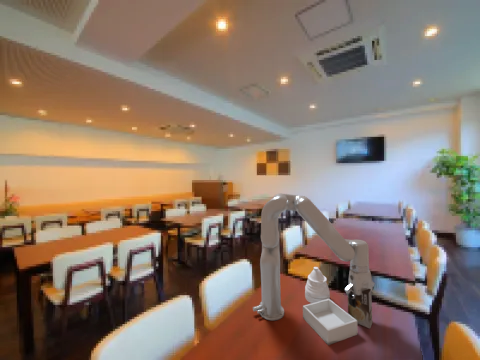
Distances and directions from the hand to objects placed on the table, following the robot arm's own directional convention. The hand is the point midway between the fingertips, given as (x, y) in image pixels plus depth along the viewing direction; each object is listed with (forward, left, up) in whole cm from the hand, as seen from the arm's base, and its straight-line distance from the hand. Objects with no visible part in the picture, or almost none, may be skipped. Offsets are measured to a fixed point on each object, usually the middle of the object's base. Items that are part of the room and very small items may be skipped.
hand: (360, 303), depth 94 cm
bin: (-16, +3, -8) cm, 18 cm away
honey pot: (-7, +21, -9) cm, 24 cm away
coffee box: (0, 0, -8) cm, 8 cm away
